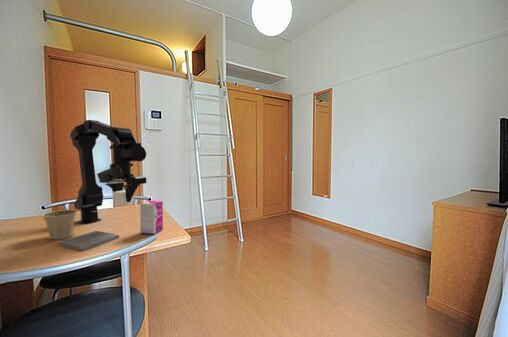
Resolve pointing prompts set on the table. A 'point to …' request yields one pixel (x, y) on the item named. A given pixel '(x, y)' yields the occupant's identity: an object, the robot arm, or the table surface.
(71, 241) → the gray mat
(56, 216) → the flower pot
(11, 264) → the table surface
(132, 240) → the table surface
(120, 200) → the off-white cube
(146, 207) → the supplement box
